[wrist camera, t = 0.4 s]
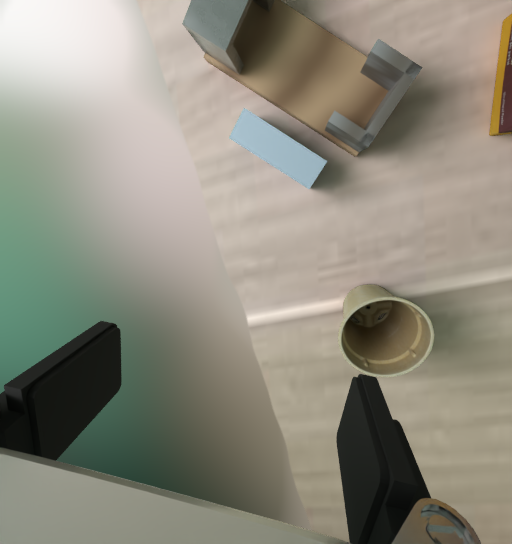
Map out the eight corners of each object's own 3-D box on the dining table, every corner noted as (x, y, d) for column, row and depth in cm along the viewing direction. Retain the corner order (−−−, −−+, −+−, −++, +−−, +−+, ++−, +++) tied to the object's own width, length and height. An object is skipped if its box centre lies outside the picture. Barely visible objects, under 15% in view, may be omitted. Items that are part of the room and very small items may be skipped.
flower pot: (417, 281, 36) (450, 310, 27) (391, 344, 39) (415, 387, 31) (342, 264, 37) (353, 287, 28) (323, 327, 40) (328, 365, 31)
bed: (207, 61, 32) (185, 34, 26) (241, -19, 29) (225, -69, 24) (354, 156, 33) (365, 150, 27) (402, 86, 30) (425, 62, 24)
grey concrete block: (204, 52, 31) (182, 23, 25) (236, -25, 28) (220, -74, 23) (239, 75, 31) (225, 51, 25) (274, 0, 28) (267, -43, 23)
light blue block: (239, 144, 34) (229, 137, 30) (252, 118, 33) (244, 107, 29) (308, 188, 35) (309, 189, 30) (324, 164, 34) (327, 161, 29)
